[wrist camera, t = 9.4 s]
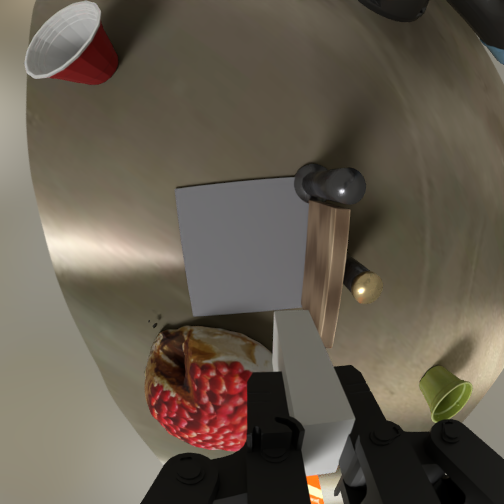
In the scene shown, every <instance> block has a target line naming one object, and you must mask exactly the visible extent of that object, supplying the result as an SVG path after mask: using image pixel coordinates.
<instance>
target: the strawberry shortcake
mask: <svg viewBox="0 0 504 504" xmlns="http://www.w3.org/2000/svg"><path fill="white" fill-rule="evenodd" d="M148 322H150V320H149V321H148ZM157 324H158V323H155V324H154V325H153V328H155V327H156V326H157ZM272 357H273V354H272V353H271V352H270V351H269V350H268V349H267V348H265V347H264V346H263V345H262V344H260V343H259V342H257V341H255V340H253V339H251V338H249V337H247V336H246V335H244V334H242V333H237V332H234V331H228V330H225V329H220V328H211V327H204V326H188V325H187V326H183V327H181V328H179V329H174V330H171V329H168V330H165V331H162V332H160V333H159V334H158V336H157V337H156V339H155V341H154V343H153V345H152V347H151V351H150V355H149V357H148V363H147V366H146V370H145V372H144V374H145V377H146V379H145V396H146V401H147V404H148V407H149V410H150V412H151V414H152V416H153V417H154V418H155V419H157V420H158V421H159V423H160V424H161V425H162V426H163V427H164V428H165V429H166V430H167V431H168V432H169V434H171V435H173V436H175V437H177V438H179V439H180V440H182V441H184V442H186V443H189V444H191V445H193V446H196V447H200V448H206V449H210V450H217V449H222V450H226V451H239V450H240V449H241V448H242V447H243V446H244V444H245V442H246V439H247V436H246V433H247V381H248V379H249V378H250V376H251V374H252V373H253V372H274V371H273V363H272Z"/></svg>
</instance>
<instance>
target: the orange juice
mask: <svg viewBox="0 0 504 504" xmlns="http://www.w3.org/2000/svg"><path fill="white" fill-rule="evenodd" d="M306 478H307V483H308V489H309V494H310V500H311V504H324V502H323V496H322V492H321V488H320V484H319V479H318V475H313V476H306Z"/></svg>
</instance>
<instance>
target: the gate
mask: <svg viewBox="0 0 504 504" xmlns="http://www.w3.org/2000/svg"><path fill="white" fill-rule="evenodd" d="M349 223H350V209H347V208H342V207H339V206H335V205H332V204H328V203H325V202H321V201H314V200H309V211H308V227H307V241H306V253H305V265H304V277H303V287H302V297H301V305H302V308H303V310H309V313H310V315H311V317H312V319H313V322H314V324H315V326H316V328H317V331H318V333H319V335H320V337H321V340H322V342H323V344H324V346H325V348H332V346H333V341H334V335H335V330H336V324H337V318H338V312H339V306H340V299H341V292H342V285H343V278H344V270H345V262H346V253H347V244H348V234H349Z"/></svg>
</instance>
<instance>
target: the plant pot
mask: <svg viewBox="0 0 504 504" xmlns="http://www.w3.org/2000/svg"><path fill="white" fill-rule="evenodd" d="M419 386H420V389H421V391H422V393H423V395H424V397H425V399H426V401H427V403H428V405H429V407H430V411H431V418H432V421H433V422H435V423H437V422H438V421H441V420H443V419H450V418H451V417H453V416H454V415H455V414H457V413H458V412H459V411H460V410H461V409H462V408H463V407H464V405H465V404H466V403H467V401H468V400H469V398H470V396H471V393H472V389H473V387H472V384H471V383H470V382H468V381H464V380H460V379H459V378H458V377H456V376H455V375H453V374H452V373H451V372H449V371H448V370H447V369H445V368H444V367H442V366H435V367H433V368H431V369H430V370H428V371H427V372H426V374H425V376H424V377H423V378H422V379H421V381H420V385H419Z"/></svg>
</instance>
